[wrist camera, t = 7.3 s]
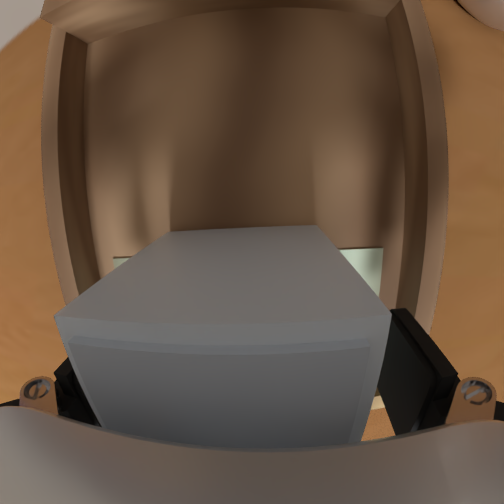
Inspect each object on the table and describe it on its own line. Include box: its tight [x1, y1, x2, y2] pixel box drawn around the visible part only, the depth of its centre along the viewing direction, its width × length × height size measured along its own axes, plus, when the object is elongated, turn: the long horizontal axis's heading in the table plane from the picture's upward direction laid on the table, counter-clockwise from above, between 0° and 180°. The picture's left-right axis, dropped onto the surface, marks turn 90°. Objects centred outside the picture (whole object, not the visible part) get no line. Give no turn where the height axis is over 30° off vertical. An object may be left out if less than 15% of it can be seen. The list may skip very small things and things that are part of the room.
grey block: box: [54, 225, 392, 449], centre depth 9 cm, size 6×8×8 cm
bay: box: [40, 0, 448, 410], centre depth 10 cm, size 16×20×5 cm
